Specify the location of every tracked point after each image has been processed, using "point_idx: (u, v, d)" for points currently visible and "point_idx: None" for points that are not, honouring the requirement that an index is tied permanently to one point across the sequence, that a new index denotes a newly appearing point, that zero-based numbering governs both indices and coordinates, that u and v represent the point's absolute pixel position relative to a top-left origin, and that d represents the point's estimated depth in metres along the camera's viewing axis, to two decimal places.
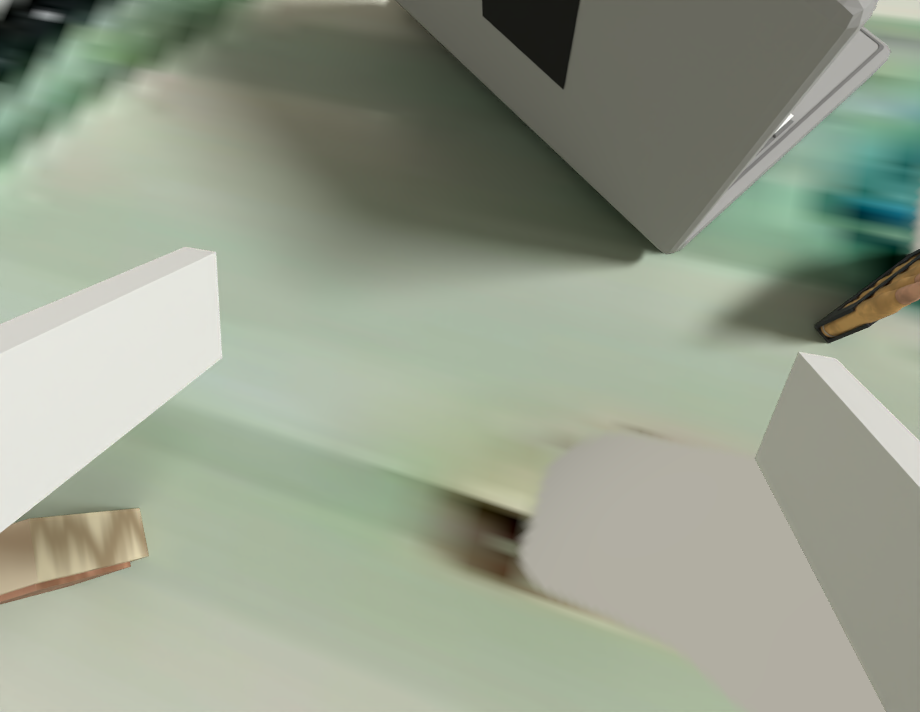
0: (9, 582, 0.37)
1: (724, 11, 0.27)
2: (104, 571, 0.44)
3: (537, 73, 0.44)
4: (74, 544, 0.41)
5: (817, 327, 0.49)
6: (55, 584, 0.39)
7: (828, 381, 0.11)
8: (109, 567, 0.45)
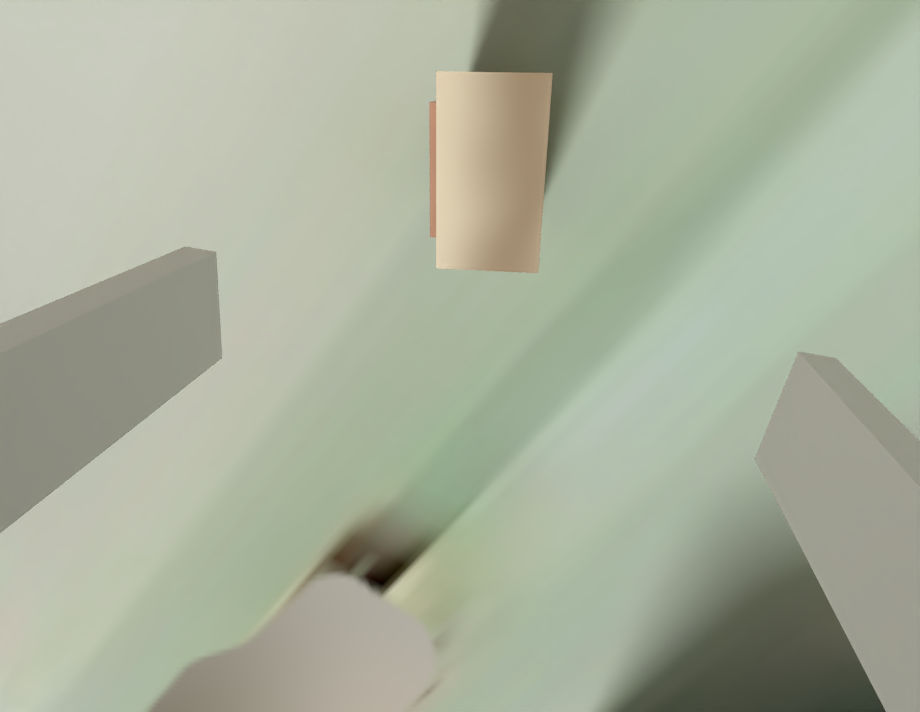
0: (449, 223, 0.22)
1: None
2: None
3: None
4: None
5: None
6: None
7: (828, 380, 0.11)
8: None
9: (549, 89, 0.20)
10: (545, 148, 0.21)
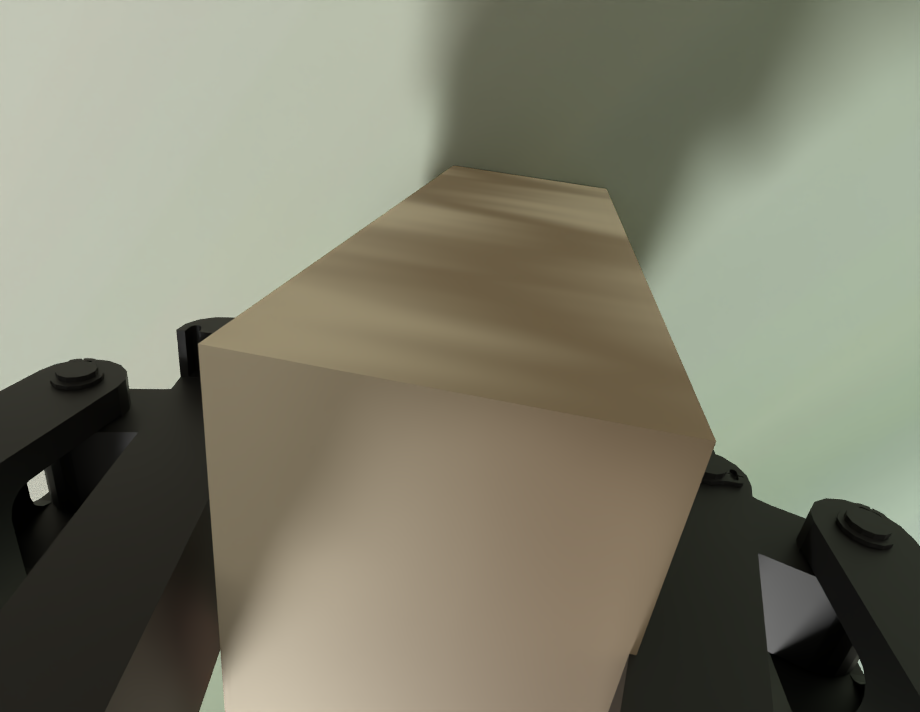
0: None
1: None
2: None
3: None
4: None
5: None
6: None
7: None
8: None
9: (685, 492, 0.05)
10: (625, 663, 0.05)
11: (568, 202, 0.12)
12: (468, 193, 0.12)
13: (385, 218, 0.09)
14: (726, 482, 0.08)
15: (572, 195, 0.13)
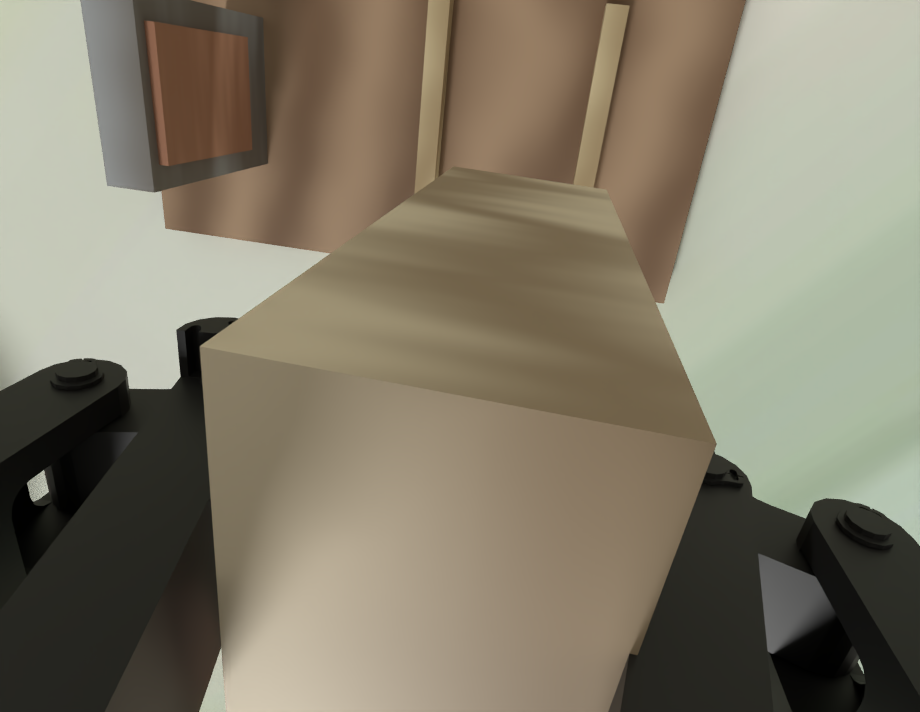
0: None
1: None
2: None
3: None
4: None
5: None
6: None
7: None
8: None
9: (685, 495, 0.05)
10: None
11: (568, 203, 0.13)
12: (468, 194, 0.12)
13: (386, 220, 0.09)
14: (725, 483, 0.08)
15: (572, 196, 0.13)
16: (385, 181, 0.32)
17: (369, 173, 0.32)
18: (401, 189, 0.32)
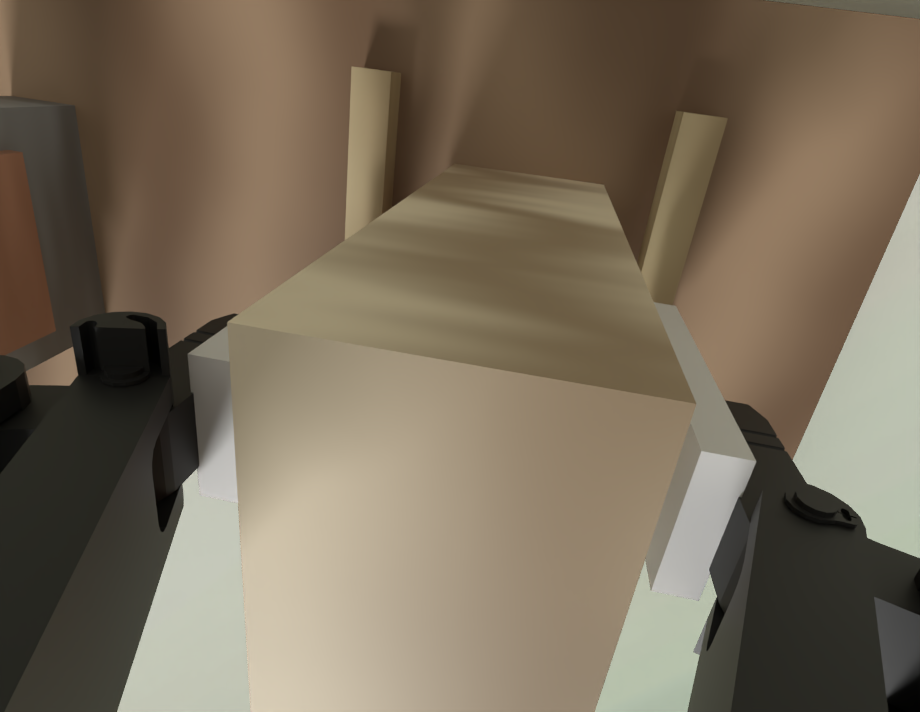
0: None
1: None
2: None
3: None
4: None
5: None
6: None
7: None
8: None
9: (670, 452, 0.05)
10: (619, 615, 0.06)
11: (566, 197, 0.13)
12: (470, 189, 0.12)
13: (392, 213, 0.10)
14: (837, 522, 0.07)
15: (570, 190, 0.14)
16: None
17: None
18: None
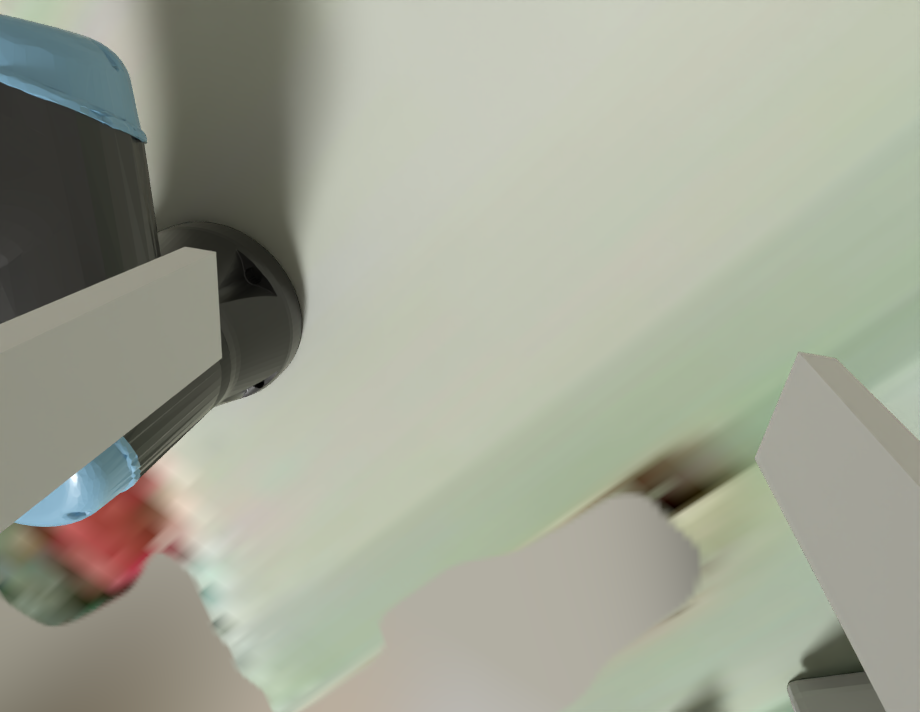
0: None
1: None
2: None
3: None
4: None
5: None
6: None
7: (828, 380, 0.11)
8: None
9: None
10: None
11: None
12: None
13: None
14: None
15: None
16: None
17: None
18: None
